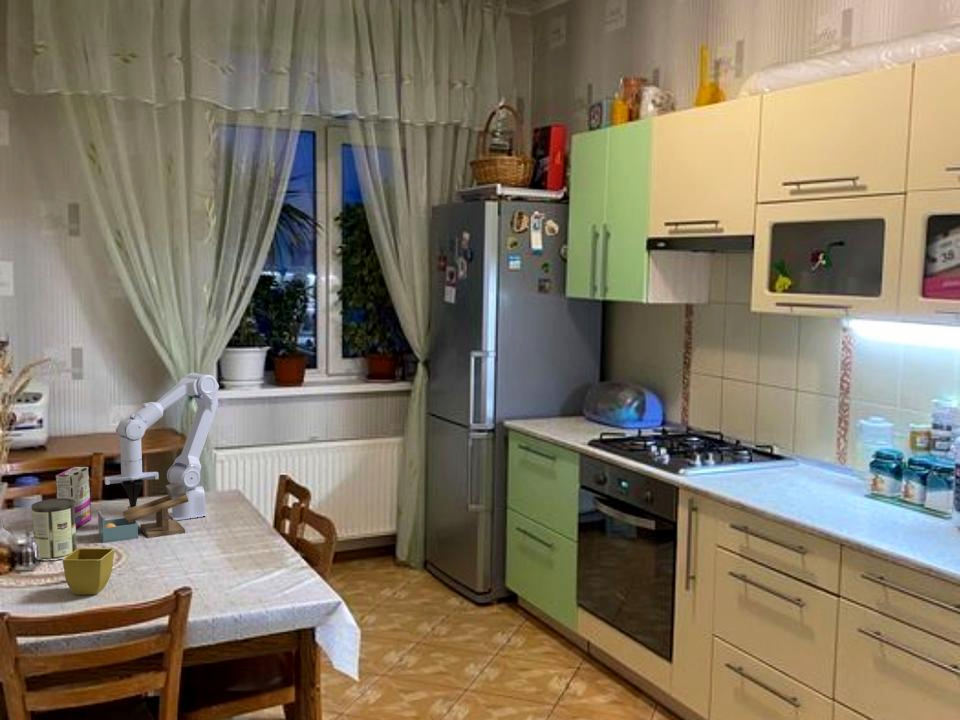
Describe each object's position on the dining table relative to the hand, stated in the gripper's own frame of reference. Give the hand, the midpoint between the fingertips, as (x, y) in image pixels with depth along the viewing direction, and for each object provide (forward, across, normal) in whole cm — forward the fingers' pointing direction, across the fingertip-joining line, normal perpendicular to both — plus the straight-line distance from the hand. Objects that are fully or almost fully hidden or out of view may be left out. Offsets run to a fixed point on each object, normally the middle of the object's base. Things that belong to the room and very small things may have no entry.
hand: (132, 505), depth 259 cm
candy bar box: (+7, -14, +12) cm, 20 cm away
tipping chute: (0, +5, -5) cm, 7 cm away
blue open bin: (+6, -5, -8) cm, 11 cm away
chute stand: (+6, +7, -8) cm, 12 cm away
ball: (+4, -8, -8) cm, 11 cm away
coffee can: (+7, -22, -18) cm, 29 cm away
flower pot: (+7, -18, -52) cm, 55 cm away
